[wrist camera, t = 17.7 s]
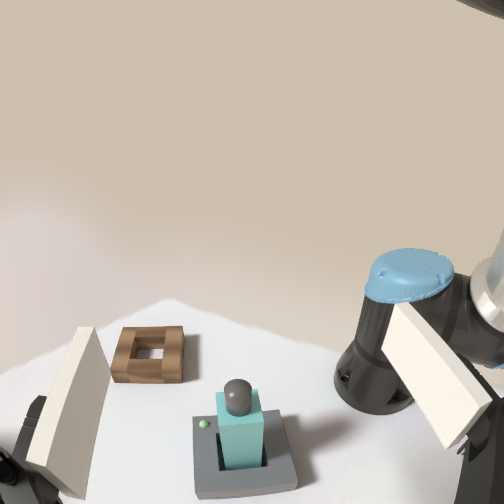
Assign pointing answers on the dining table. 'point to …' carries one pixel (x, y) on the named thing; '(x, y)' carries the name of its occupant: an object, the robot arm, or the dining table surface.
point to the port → (244, 480)
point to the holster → (149, 370)
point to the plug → (240, 425)
